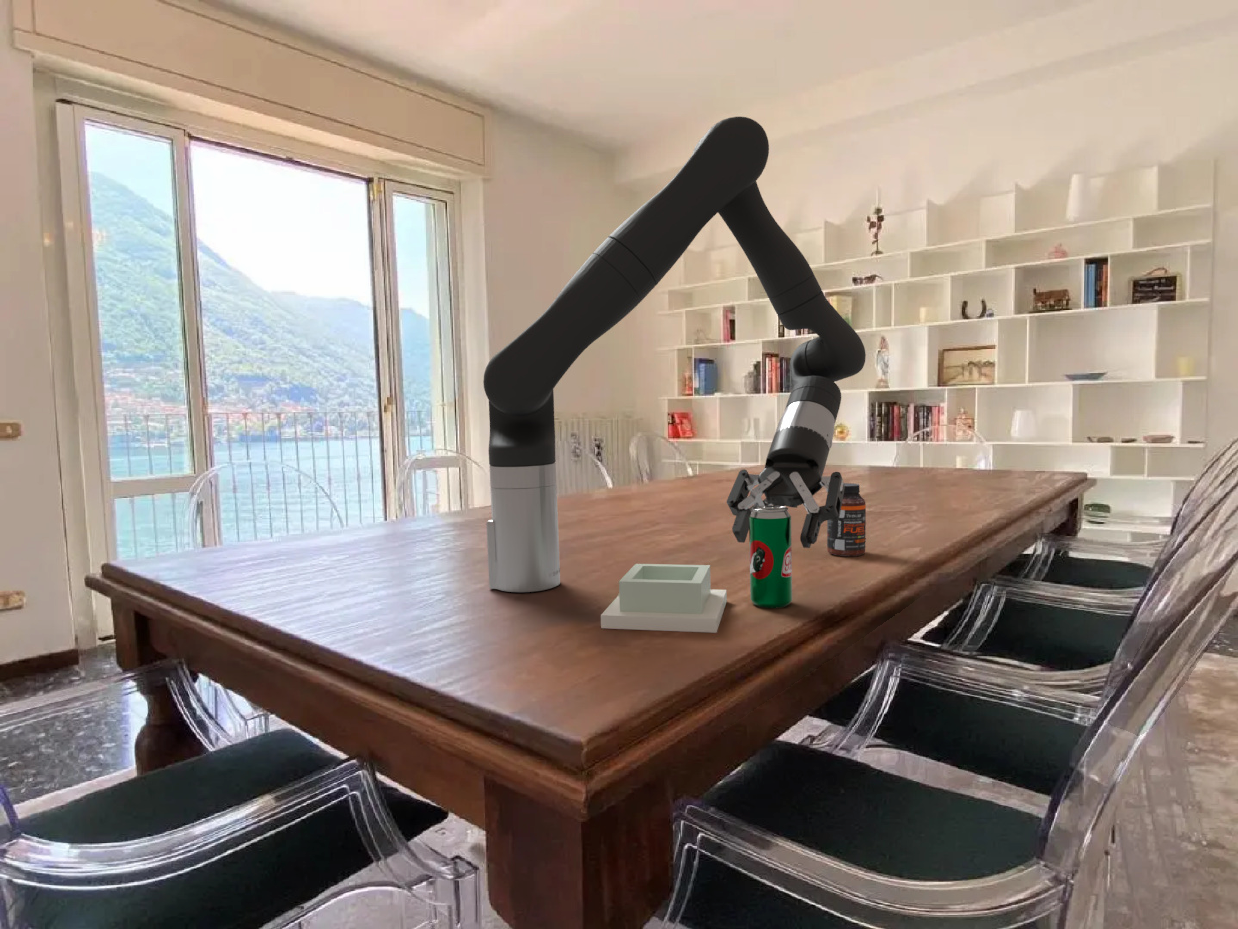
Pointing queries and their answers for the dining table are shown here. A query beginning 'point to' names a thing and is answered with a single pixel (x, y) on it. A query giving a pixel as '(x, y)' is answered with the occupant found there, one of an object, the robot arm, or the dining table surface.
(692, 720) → the dining table surface
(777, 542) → the soda can
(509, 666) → the dining table surface
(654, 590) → the socket holder
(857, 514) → the supplement bottle
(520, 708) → the dining table surface
